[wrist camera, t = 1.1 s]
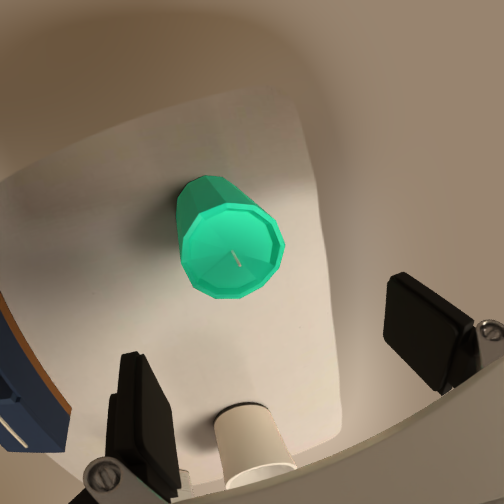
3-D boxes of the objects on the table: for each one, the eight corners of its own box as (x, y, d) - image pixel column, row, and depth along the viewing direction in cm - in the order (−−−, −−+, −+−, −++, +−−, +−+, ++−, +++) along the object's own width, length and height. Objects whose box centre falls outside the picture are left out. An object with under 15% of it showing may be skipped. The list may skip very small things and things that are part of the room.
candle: (239, 169, 26) (290, 199, 16) (247, 234, 29) (296, 300, 18) (169, 181, 25) (170, 221, 14) (182, 247, 28) (194, 325, 17)
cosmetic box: (146, 473, 40) (153, 534, 29) (158, 463, 39) (166, 527, 28) (178, 480, 42) (189, 538, 31) (191, 470, 42) (204, 531, 31)
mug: (228, 394, 36) (248, 461, 27) (284, 404, 39) (312, 462, 30) (194, 440, 38) (206, 500, 29) (246, 446, 42) (265, 500, 33)
